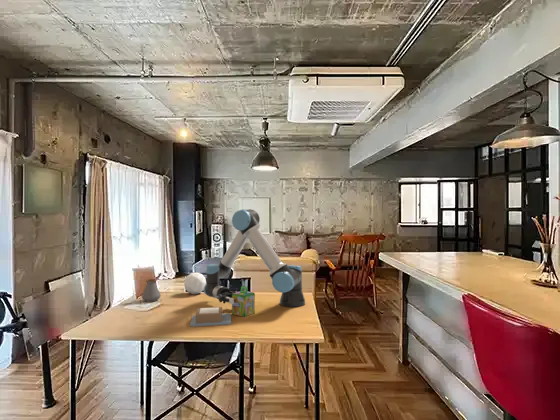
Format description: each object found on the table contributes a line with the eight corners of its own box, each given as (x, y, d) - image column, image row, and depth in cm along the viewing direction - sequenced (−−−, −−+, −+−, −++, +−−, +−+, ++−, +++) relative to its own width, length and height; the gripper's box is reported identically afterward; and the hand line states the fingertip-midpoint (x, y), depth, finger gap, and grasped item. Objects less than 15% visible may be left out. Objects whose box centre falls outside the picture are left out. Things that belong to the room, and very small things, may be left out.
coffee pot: (156, 302, 243) (155, 278, 243) (138, 302, 245) (137, 278, 244) (169, 295, 264) (169, 272, 264) (153, 294, 266) (153, 272, 266)
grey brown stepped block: (230, 315, 213) (230, 305, 213) (231, 324, 197) (231, 313, 197) (192, 317, 210) (192, 307, 210) (190, 326, 194) (190, 315, 194)
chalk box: (231, 314, 214) (231, 287, 214) (242, 311, 222) (242, 284, 222) (244, 317, 209) (244, 289, 209) (255, 313, 217) (255, 286, 216)
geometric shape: (200, 300, 271) (213, 281, 274) (192, 296, 257) (205, 277, 260) (185, 288, 276) (198, 270, 279) (176, 284, 262) (190, 266, 265)
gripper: (239, 296, 239) (261, 302, 223) (203, 303, 222) (224, 310, 207) (239, 283, 239) (261, 289, 223) (203, 290, 222) (224, 296, 206)
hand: (243, 299), depth 215 cm, fingers open, 13 cm apart
